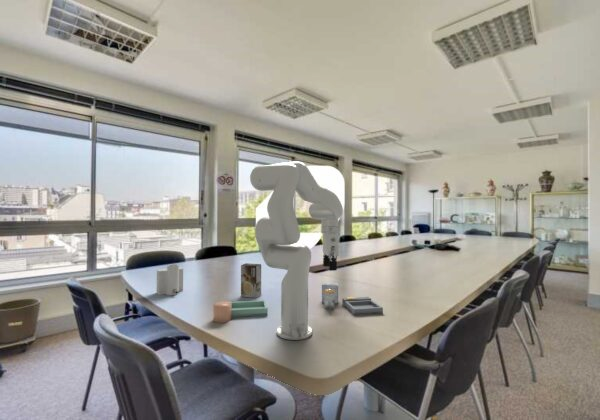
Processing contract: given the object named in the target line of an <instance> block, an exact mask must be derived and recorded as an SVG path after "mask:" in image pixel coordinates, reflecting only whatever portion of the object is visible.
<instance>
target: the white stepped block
mask: <svg viewBox="0 0 600 420" xmlns="http://www.w3.org/2000/svg"><path fill="white" fill-rule="evenodd" d="M179 291H180V292H184V268H183V267H180V264H176V263H175V264H168V265H167V266H166V268H163V269H156V294H157V295H158V296H160V295H166V296H176V295H177V294H178V293H180V292H179Z"/></svg>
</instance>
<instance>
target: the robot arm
mask: <svg viewBox="0 0 600 420" xmlns="http://www.w3.org/2000/svg"><path fill="white" fill-rule="evenodd" d="M249 180H250V184H251V185H252V187H253V188H254V189H255V190H257V191H259V192H264V191H265V192H266V191H269V192H270V191H273V192H272V194H271V195H270V198H269V199H268V201H267V207H266V209H267V214H268V216H266V217H265V216H264V217H262V218H260V219H259V220H257V222H256V224H255V226H254V227H255V228H254V237H255V240H256V243H257V246H258V249H259V251H260V253H261V256H262V259H263V261H264V262H265V265H266V266H267V267H269V268H271V269H272V268H273V269H277V270H286V271H287V273H285V275H284V276H283V278H282V280H281V285H280V286H281V287H280V289H281V290H280V291H281V294H280V295H281V297H280V299H281V301H280V302H281V303H280V305H281V307H280V308H281V309H280V313H281V314H280V317H281V318H280V321H281V322H280V324H281V325H279V326H278V327H277V328H276V334H277V336H278V337H279V338H282V339H285V340H289V341H299V340H305V339H308V338H309V337H311V336H312V335H313V328H312V327H311V326H310V325H309V276H310V275H309V274H310V267H311V261H312V251H311V249H310V247H308V246H307V245H305V244H302V243H298V242H299V240H300V237H301V231H300V227H299V223H298V220H297V215H296V212H295V209H294V203H293V201H294V197H295V192H296V194H297V195H298V197H299V198H301V200H303V201H305V202H307V203H311V204H310V205H309V207H308V214H309V216H310V217H311V218H312V219H315V220H321V223H320V224H321V227H320V228H321V233H320V234H322V253H323V255H322V257H323V258H322V260H323V261H322V264H323V265H322V266H323V267H329V268H328V269H329V270H328V271H337V270H338V269H337V267H338V256H339V254H340V253H339V250H340V249H339V237H338V236H339V235H338V234H339V219H341V218H342V217H343V214H344V209H343V208H344V207H343V204H342V203H341V201H340V199H339V197H338V195H336V194H335V192H333V191H331V190H330V189H328V188H326V187H324V186H323V185H320V184H319V183H318V182H317V181H316V179H315V178H314V175H313V174H312V173H311V171H310V169H309V168H308V166H307V165H306V164H305V163H303V162H301V161H289V162H288V161H287V162H278V163H274V164H266V165H257V166H255V167H254V168H253V169H252V170H251V173H250V176H249Z"/></svg>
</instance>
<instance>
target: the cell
mask: <svg viewBox="0 0 600 420" xmlns="http://www.w3.org/2000/svg"><path fill="white" fill-rule="evenodd" d="M323 304H324V310H327V311H333V310H335V303H334V290H332V289H326V290H325V300H324V303H323Z"/></svg>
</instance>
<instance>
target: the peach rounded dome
mask: <svg viewBox="0 0 600 420" xmlns="http://www.w3.org/2000/svg"><path fill="white" fill-rule="evenodd" d="M231 302H232V301H218V302H214V303H213V305H212V306H213V309H212V311H213V313H212V314H213V316H212V321H213V322H214V323H223V324H224V323H227V322H230V321H231V320H232V318H231V313H232V303H231Z"/></svg>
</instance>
